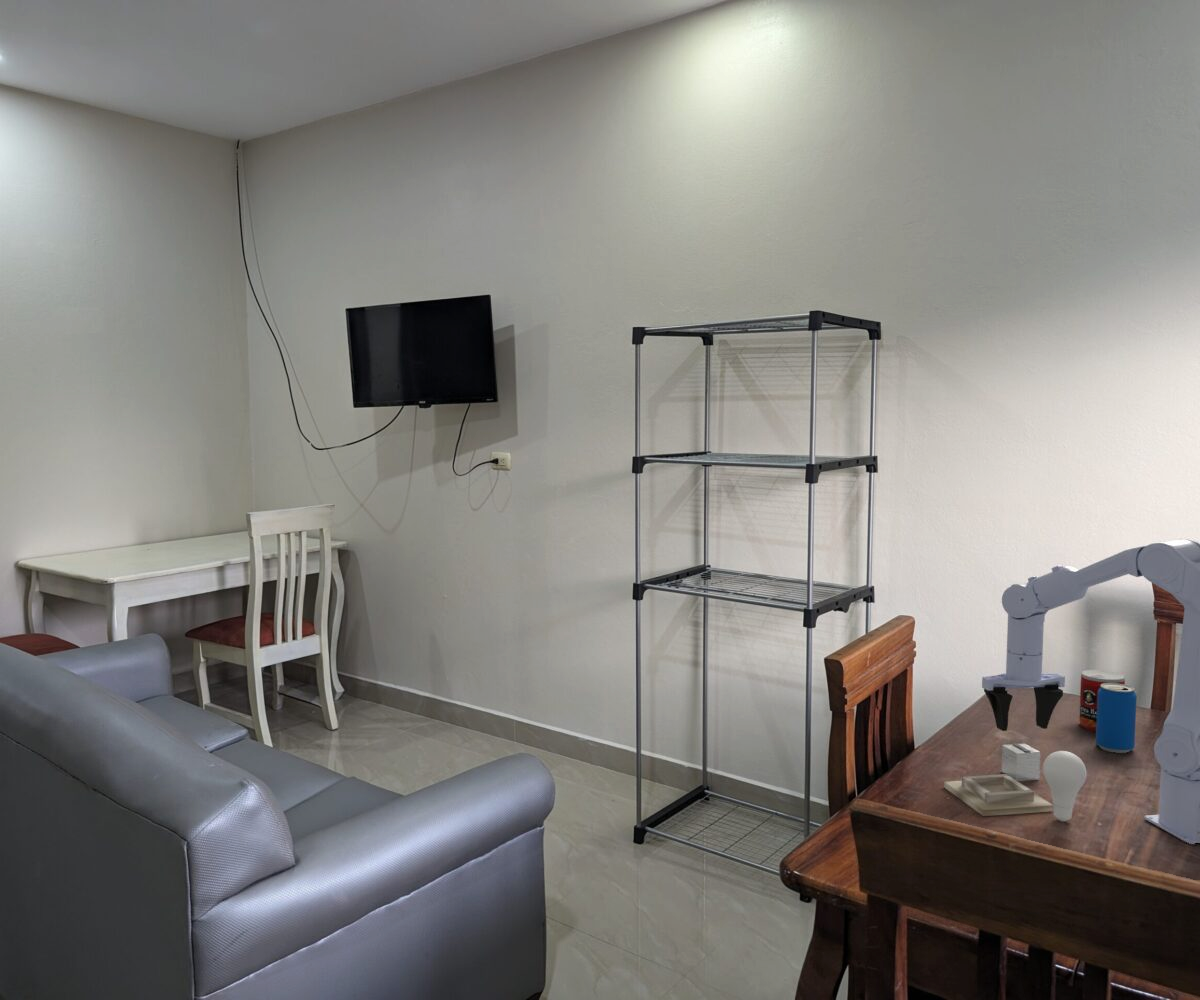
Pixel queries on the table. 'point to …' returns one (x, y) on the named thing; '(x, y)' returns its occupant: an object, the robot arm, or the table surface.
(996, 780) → the beige square tray
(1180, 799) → the robot arm
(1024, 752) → the block
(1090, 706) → the canned food
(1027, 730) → the table surface
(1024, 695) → the table surface
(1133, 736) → the beverage can
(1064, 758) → the lightbulb
